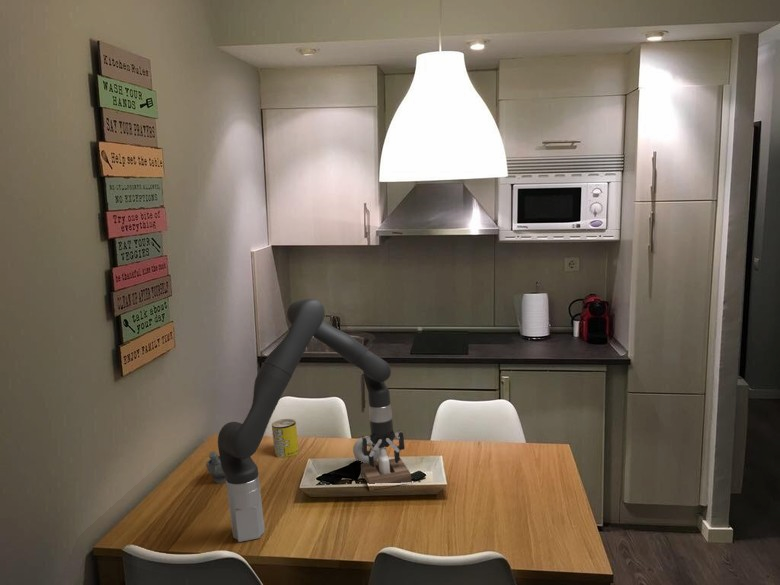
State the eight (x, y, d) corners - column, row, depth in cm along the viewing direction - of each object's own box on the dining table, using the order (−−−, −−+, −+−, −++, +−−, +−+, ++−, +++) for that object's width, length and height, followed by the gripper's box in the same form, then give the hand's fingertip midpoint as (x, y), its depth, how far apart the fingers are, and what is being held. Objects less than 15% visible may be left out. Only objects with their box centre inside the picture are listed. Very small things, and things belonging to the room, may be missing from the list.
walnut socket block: (411, 483, 221) (410, 473, 221) (369, 491, 218) (369, 480, 218) (400, 467, 235) (400, 457, 234) (361, 473, 232) (360, 464, 231)
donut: (382, 460, 242) (380, 433, 240) (382, 464, 238) (379, 437, 237) (354, 462, 242) (352, 435, 240) (353, 466, 239) (351, 439, 237)
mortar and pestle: (215, 473, 242) (211, 441, 240) (240, 473, 240) (236, 441, 239) (202, 487, 231) (198, 454, 229) (228, 487, 229) (224, 453, 228)
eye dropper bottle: (393, 475, 228) (390, 441, 227) (389, 482, 223) (386, 448, 221) (381, 475, 230) (378, 441, 228) (376, 482, 224) (373, 448, 222)
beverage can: (279, 448, 260) (275, 419, 259) (301, 448, 259) (298, 418, 257) (271, 458, 252) (268, 427, 250) (295, 457, 250) (291, 427, 248)
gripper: (361, 424, 218) (366, 472, 220) (404, 417, 221) (408, 464, 224) (357, 417, 225) (361, 463, 228) (398, 410, 228) (402, 456, 231)
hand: (384, 464), depth 226 cm, fingers open, 8 cm apart
